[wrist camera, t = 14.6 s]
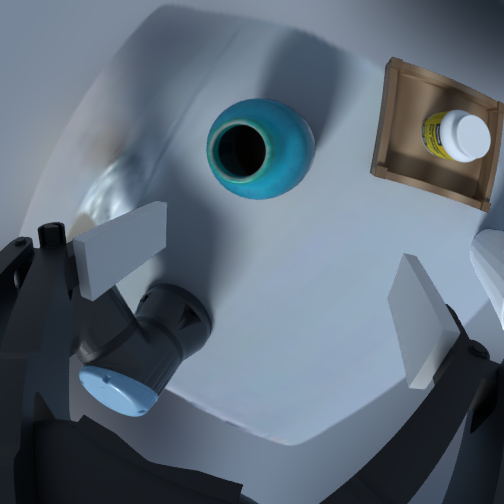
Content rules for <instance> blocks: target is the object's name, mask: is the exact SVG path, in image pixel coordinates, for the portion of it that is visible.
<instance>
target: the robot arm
mask: <svg viewBox="0 0 504 504" xmlns="http://www.w3.org/2000/svg"><path fill="white" fill-rule="evenodd" d="M166 219H167V203H166V202H160V201H154V202H152V203H149V204H147V205H145V206H142V207H140V208H137V209H135V210H133V211H131V212H128V213H126V214H124V215H121V216H119V217H117V218H115V219H113V220H110V221H108V222H106V223H104V224H102V225H100V226H97V227H95V228H93V229H91V230H89V231H87V232H85V233H83V234H81V235H79V236H77V237H75V238H73V240H72V241H71V242H69V243H67V244H66V236H65V227H64V224H63V223H60V222H53V223H47V224H44V225H42V226H40V227H39V228H38V235H39V241H40V248H39V249H38V248H33V242H32V238H30V237H19V238H17V239H15V240H13V241H12V242H10V243H9V244H8V245H7V246H6V247H5V248H4V249H3V250H1V251H0V504H258V503H257V502H255V501H254V500H252V499H251V498H249V497H247V496H245V495H243V494H241V490H242V487H243V484H239V483H235V482H232V481H228V480H225V479H222V478H218V477H215V476H212V475H209V474H206V473H203V472H200V471H196V470H189V469H183V468H177V467H171V466H166V465H161V464H156V463H152V462H150V461H148V460H146V459H145V458H143V457H142V456H141V455H140V454H139V453H137V452H136V451H135V450H134V449H133V448H131V447H130V446H129V445H128V444H127V443H126V442H124V441H123V440H122V439H121V438H120V437H119V436H118V435H117V434H115V433H114V432H112V431H110V430H109V429H107V428H105V427H103V426H102V425H100V424H98V423H97V422H95V421H93V420H92V419H90V418H89V417H87V416H85V415H83V417H82V418H81V419H80V420H79V421H78V422H74V421H71V419H70V413H69V358H70V357H71V356H72V355H73V354H76V356H77V357H78V358H79V360H80V361H81V362H82V364H83V365H84V366H83V367H82V368H81V370H80V373H79V377H80V380H81V381H82V384H83V386H84V387H85V388H86V389H87V390H88V391H89V393H90V394H91V395H92V396H94V397H95V398H96V399H97V400H98V401H100V402H101V403H103V404H104V405H106V406H107V407H109V408H111V409H113V410H114V411H117V412H119V413H121V414H124V415H128V416H141V415H144V414H145V413H146V412H147V411H148V410H149V409H150V408H151V407H152V406H153V404H154V403H155V402H156V401H157V400H158V399H159V396H160V394H161V393H162V391H163V390H164V388H165V387H166V385H167V384H168V382H169V381H170V379H171V378H172V376H173V374H174V373H175V371H176V370H177V368H178V367H179V365H180V364H181V362H182V361H183V360H185V359H187V358H188V357H190V356H191V355H193V354H194V353H195V352H197V351H199V350H200V349H201V348H202V347H203V346H204V345H205V343H206V341H207V340H208V338H209V336H210V332H211V323H210V319H209V316H208V314H207V312H206V310H205V308H204V307H203V306H202V304H201V303H200V302H199V301H198V300H197V299H196V298H195V297H194V296H193V295H192V294H190V293H189V292H187V291H186V290H184V289H182V288H180V287H177V286H174V285H169V284H161V285H157V286H154V287H153V288H151V289H150V290H149V291H148V292H147V293H145V294H144V295H143V297H142V298H141V300H140V302H139V304H138V307H137V309H136V311H135V314H133V313H132V311H131V310H130V308H129V307H128V305H127V303H126V302H125V300H124V298H123V297H122V295H121V294H120V292H119V290H118V289H117V287H116V285H115V284H116V283H118V282H119V281H120V280H122V279H123V278H124V277H126V276H127V275H128V274H130V273H131V272H132V271H134V270H135V269H136V268H138V267H139V266H140V265H142V264H143V263H144V262H146V261H147V260H149V259H150V258H151V257H153V256H154V255H156V254H157V253H158V252H160V251H161V250H163V249H164V248H165V247H166ZM14 274H15V276H16V280H17V286H15V283H14ZM387 299H388V303H389V306H390V310H391V313H392V317H393V321H394V325H395V329H396V332H397V337H398V341H399V345H400V349H401V353H402V358H403V363H404V367H405V372H406V377H407V382H408V387H409V388H417V389H425V388H426V387H427V386H428V384H429V383H430V381H431V380H432V378H433V380H434V384H435V386H434V388H433V389H432V390H431V392H430V393H429V394H428V396H427V397H426V398H425V400H424V401H423V402H422V404H421V405H420V406H419V407H418V409H417V410H416V411H415V412H414V414H413V415H412V416H411V417H410V418H409V420H408V421H407V422H406V423H405V424H404V426H403V427H402V428H401V429H400V430H399V431H398V432H397V433H396V434H395V436H394V437H393V438H392V439H391V440H390V441H389V442H388V443H387V444H386V445H385V446H384V447H383V448H382V449H381V450H380V451H379V452H378V453H377V454H376V455H375V456H374V457H373V458H372V459H371V460H370V461H369V462H368V463H367V464H366V465H365V466H364V467H363V468H362V469H361V470H359V471H358V472H357V473H356V474H355V475H354V476H353V477H352V478H350V479H349V480H348V481H347V482H346V483H345V484H343V485H342V486H341V487H340V488H339V489H337V490H336V491H335V492H334V493H332V494H331V495H330V496H329V497H327V498H326V499H325V500H323V501H322V502H321V503H320V504H407V503H408V502H409V501H410V500H411V499H412V497H413V496H414V495H415V494H416V492H417V491H418V490H419V488H420V487H421V486H422V484H423V483H424V482H425V480H426V479H427V477H428V476H429V475H430V473H431V472H432V470H433V469H434V468H435V466H436V464H437V463H438V462H439V460H440V459H441V457H442V455H443V454H444V452H445V451H446V449H447V447H448V446H449V444H450V442H451V441H452V439H453V437H454V435H455V434H456V432H457V430H458V428H459V426H460V425H461V422H462V421H463V419H464V417H465V415H466V413H467V411H468V413H467V418H466V423H465V428H464V433H463V438H462V442H461V446H460V450H459V454H458V457H457V461H456V464H455V468H454V471H453V475H452V477H451V480H450V483H449V486H448V489H447V492H446V494H445V497H444V500H443V502H442V504H504V359H503V361H502V362H501V364H498V363H496V362H493V361H491V360H490V355H489V352H488V351H487V349H486V348H485V347H484V346H483V345H482V344H480V343H479V342H477V341H475V340H471V339H469V337H468V335H467V333H466V331H465V329H464V327H463V326H462V325H461V322H460V320H458V317H457V315H456V313H455V311H454V310H453V309H452V308H451V307H450V306H449V305H448V304H445V303H444V301H443V299H442V298H441V296H440V294H439V292H438V291H437V289H436V287H435V286H434V284H433V282H432V281H431V279H430V277H429V276H428V274H427V273H426V271H425V269H424V268H423V266H422V265H421V263H420V261H419V260H418V258H417V257H416V256H413V255H409V254H405V253H403V256H402V259H401V262H400V265H399V268H398V271H397V274H396V277H395V279H394V282H393V285H392V288H391V290H390V293H389V295H388V298H387Z"/></svg>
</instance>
